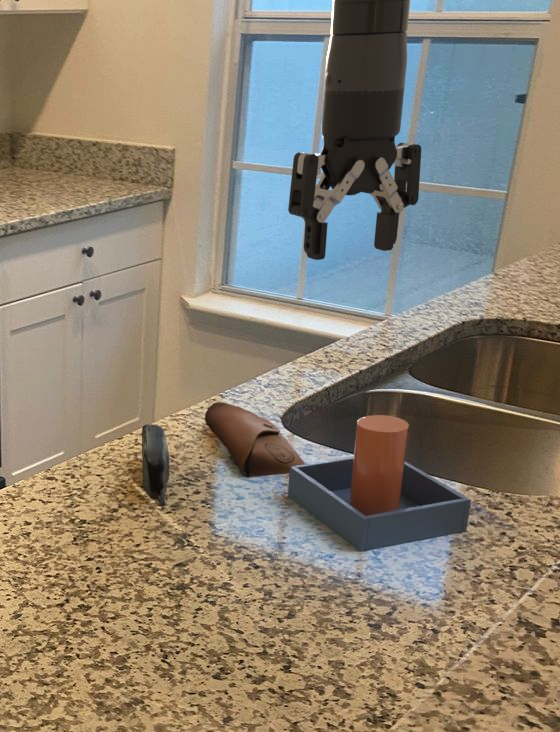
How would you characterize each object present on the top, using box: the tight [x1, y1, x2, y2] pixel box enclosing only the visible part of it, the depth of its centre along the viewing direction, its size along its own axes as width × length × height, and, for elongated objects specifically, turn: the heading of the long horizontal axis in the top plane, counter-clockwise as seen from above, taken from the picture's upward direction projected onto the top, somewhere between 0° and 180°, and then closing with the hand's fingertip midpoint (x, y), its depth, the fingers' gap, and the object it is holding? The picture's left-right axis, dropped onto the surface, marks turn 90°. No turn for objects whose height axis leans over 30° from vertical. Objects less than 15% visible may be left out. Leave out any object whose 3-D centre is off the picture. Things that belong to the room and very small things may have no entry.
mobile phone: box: [141, 423, 170, 507], centre depth 117 cm, size 5×3×15 cm
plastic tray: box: [287, 455, 472, 553], centre depth 107 cm, size 12×14×4 cm
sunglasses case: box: [204, 401, 306, 479], centre depth 125 cm, size 18×7×7 cm
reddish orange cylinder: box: [349, 414, 410, 516], centre depth 105 cm, size 5×5×10 cm
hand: (349, 254), depth 106 cm, fingers open, 8 cm apart
